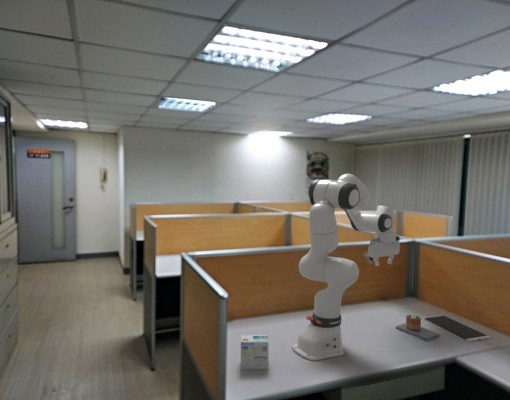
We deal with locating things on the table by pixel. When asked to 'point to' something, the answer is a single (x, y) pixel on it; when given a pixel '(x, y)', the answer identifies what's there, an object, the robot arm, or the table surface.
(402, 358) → the table surface
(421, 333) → the post stand
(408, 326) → the ring
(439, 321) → the smartphone
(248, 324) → the table surface
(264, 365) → the light bulb box
